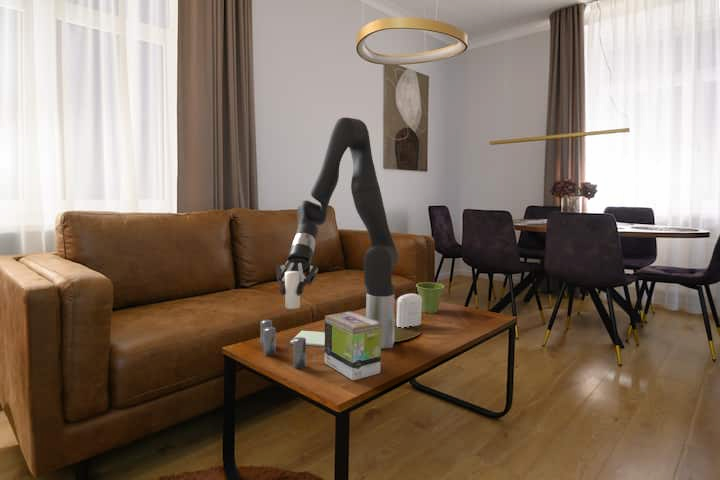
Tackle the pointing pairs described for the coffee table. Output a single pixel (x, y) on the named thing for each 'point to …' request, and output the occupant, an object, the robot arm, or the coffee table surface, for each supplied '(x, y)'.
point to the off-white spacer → (291, 290)
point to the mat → (312, 338)
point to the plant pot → (430, 296)
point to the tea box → (353, 344)
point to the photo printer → (409, 310)
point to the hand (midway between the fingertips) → (290, 293)
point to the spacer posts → (270, 344)
